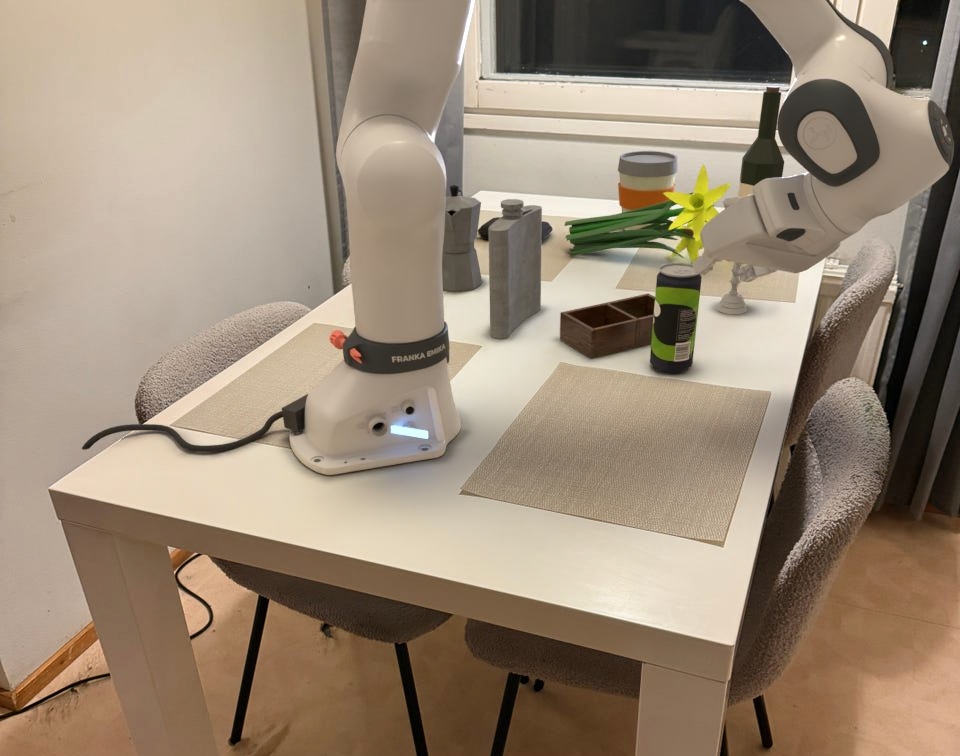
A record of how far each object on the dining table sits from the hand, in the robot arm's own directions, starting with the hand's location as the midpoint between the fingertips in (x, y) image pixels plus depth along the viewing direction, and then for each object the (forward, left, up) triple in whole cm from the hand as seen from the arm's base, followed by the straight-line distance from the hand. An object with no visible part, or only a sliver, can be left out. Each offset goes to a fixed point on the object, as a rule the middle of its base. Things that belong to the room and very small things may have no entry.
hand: (720, 273), depth 115 cm
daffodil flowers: (+29, +54, -18) cm, 64 cm away
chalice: (+27, +25, -18) cm, 41 cm away
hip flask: (-8, +39, -18) cm, 44 cm away
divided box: (+3, +24, -18) cm, 31 cm away
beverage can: (+3, +11, -18) cm, 22 cm away
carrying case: (+17, +82, -18) cm, 86 cm away
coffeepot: (-7, +62, -18) cm, 65 cm away
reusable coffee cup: (+44, +73, -18) cm, 87 cm away
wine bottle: (+56, +52, -18) cm, 79 cm away
